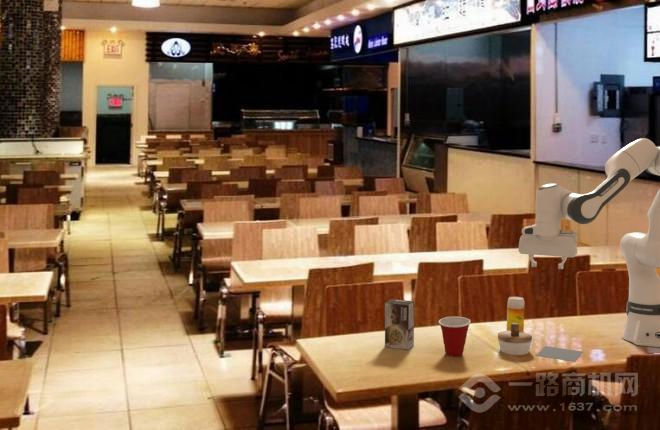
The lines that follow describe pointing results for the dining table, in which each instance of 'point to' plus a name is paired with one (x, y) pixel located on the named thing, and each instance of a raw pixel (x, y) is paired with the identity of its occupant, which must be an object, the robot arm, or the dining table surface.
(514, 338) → the lid
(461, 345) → the plastic cup
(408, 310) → the coffee box
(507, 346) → the ramekin
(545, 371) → the dining table surface
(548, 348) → the mat
